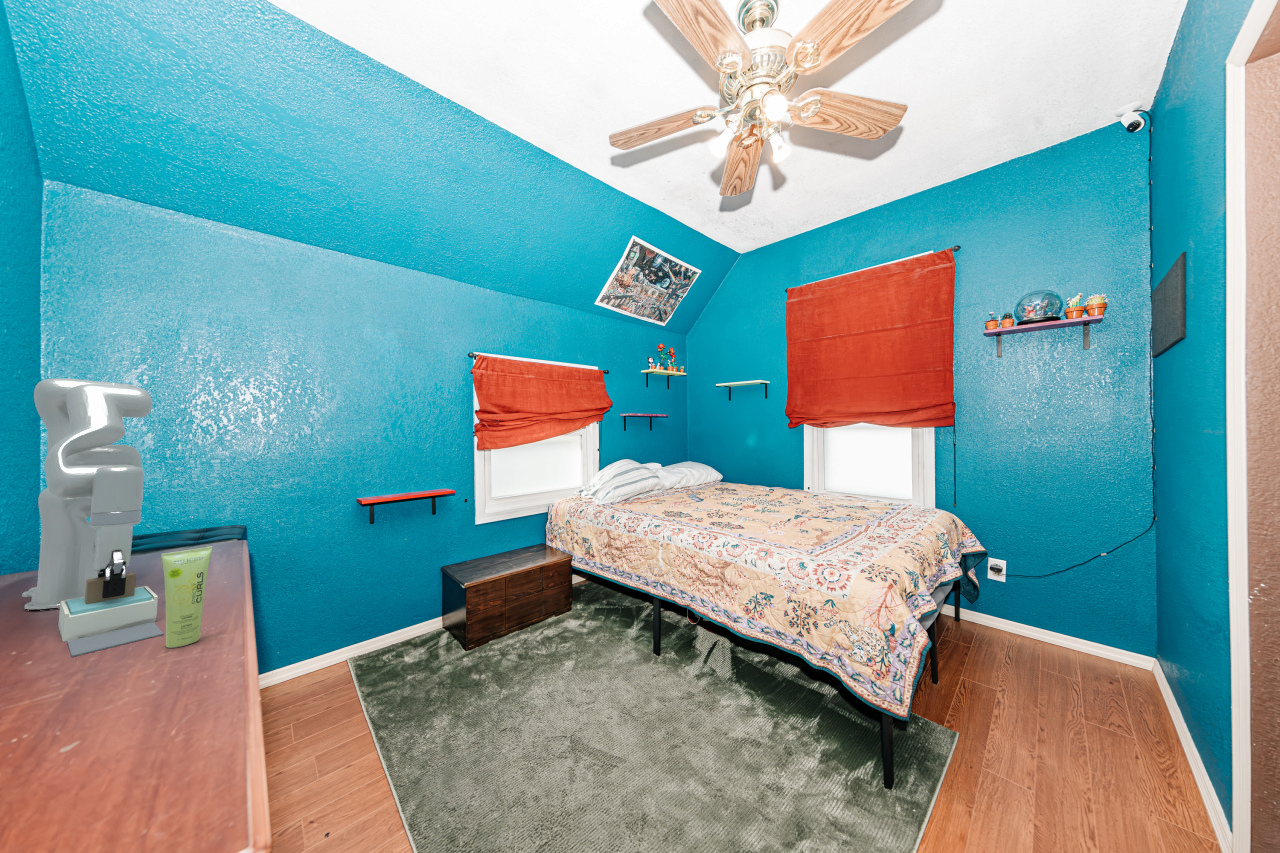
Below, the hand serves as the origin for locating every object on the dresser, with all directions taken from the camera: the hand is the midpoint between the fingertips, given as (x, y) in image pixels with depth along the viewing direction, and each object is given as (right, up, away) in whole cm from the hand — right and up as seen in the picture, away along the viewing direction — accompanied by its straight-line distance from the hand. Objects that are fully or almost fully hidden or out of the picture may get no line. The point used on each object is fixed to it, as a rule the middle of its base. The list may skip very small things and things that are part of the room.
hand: (110, 592), depth 98 cm
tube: (+27, -7, -10) cm, 30 cm away
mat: (+11, -7, -8) cm, 15 cm away
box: (0, -7, 0) cm, 7 cm away
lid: (0, -2, 0) cm, 2 cm away
